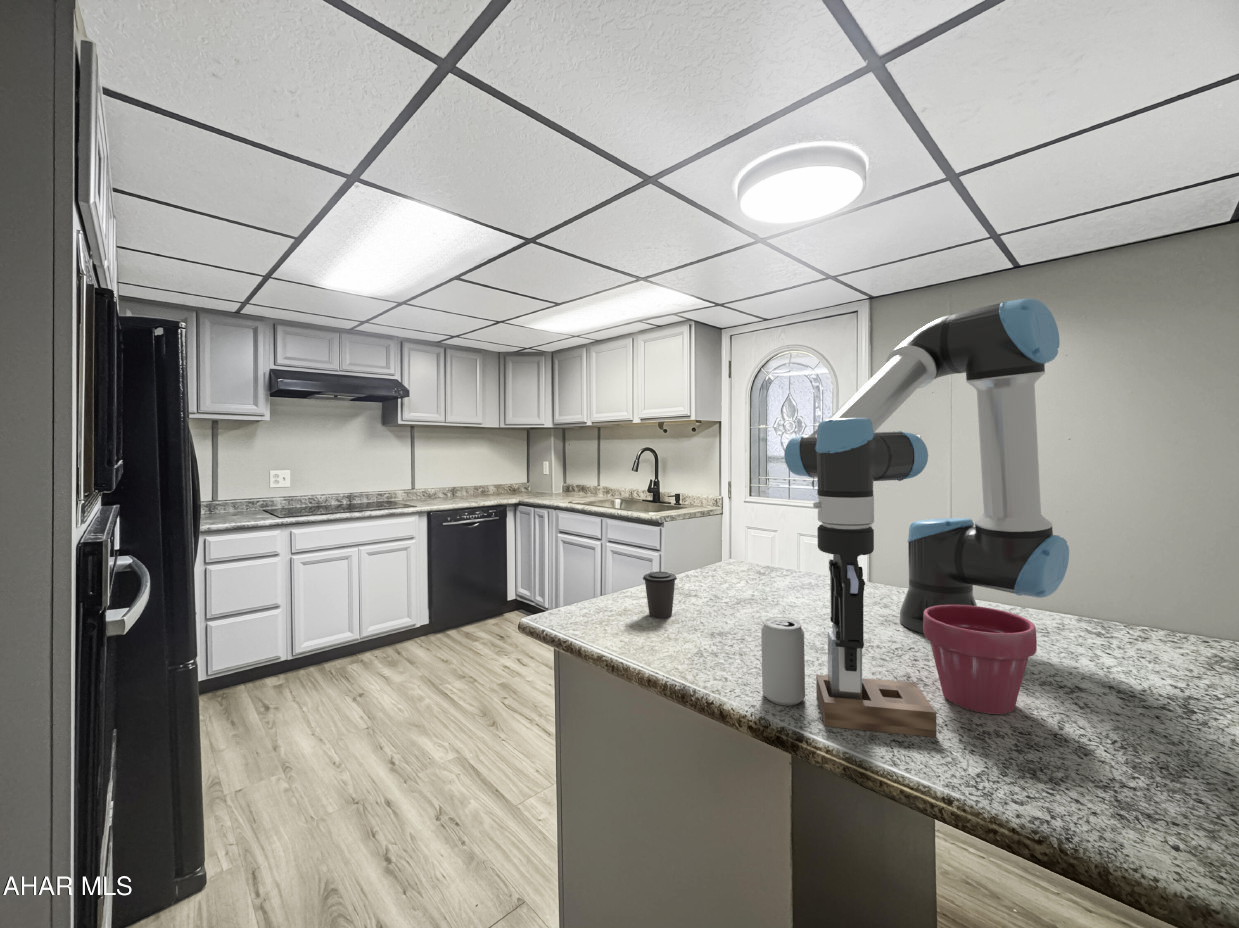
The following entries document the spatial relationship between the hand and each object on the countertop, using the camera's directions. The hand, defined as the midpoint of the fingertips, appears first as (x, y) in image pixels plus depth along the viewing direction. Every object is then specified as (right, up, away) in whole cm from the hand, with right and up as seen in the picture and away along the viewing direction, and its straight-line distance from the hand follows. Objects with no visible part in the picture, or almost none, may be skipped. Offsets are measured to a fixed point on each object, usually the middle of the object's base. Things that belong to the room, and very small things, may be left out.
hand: (846, 682), depth 76 cm
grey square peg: (0, -3, 0) cm, 3 cm away
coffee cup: (-24, -4, +46) cm, 52 cm away
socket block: (+3, -4, -1) cm, 6 cm away
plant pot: (+21, -4, +3) cm, 22 cm away
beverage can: (-8, -5, +5) cm, 10 cm away
